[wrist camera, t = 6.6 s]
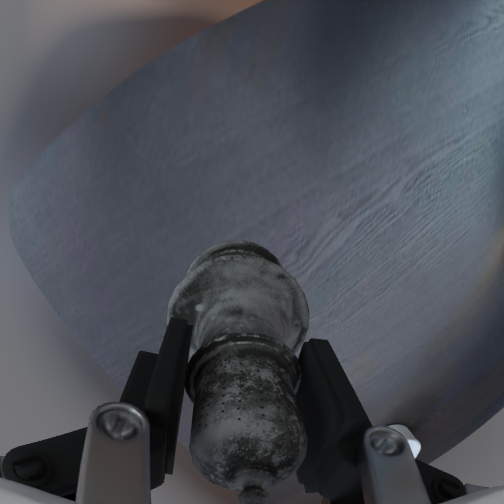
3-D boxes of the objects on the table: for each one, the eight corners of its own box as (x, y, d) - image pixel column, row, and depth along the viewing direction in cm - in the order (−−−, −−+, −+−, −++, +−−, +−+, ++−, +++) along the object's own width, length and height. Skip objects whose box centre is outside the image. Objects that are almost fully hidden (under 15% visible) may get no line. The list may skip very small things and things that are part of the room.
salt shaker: (309, 312, 17) (405, 505, 6) (212, 355, 17) (205, 561, 6) (264, 213, 16) (362, 362, 4) (157, 265, 16) (51, 459, 4)
